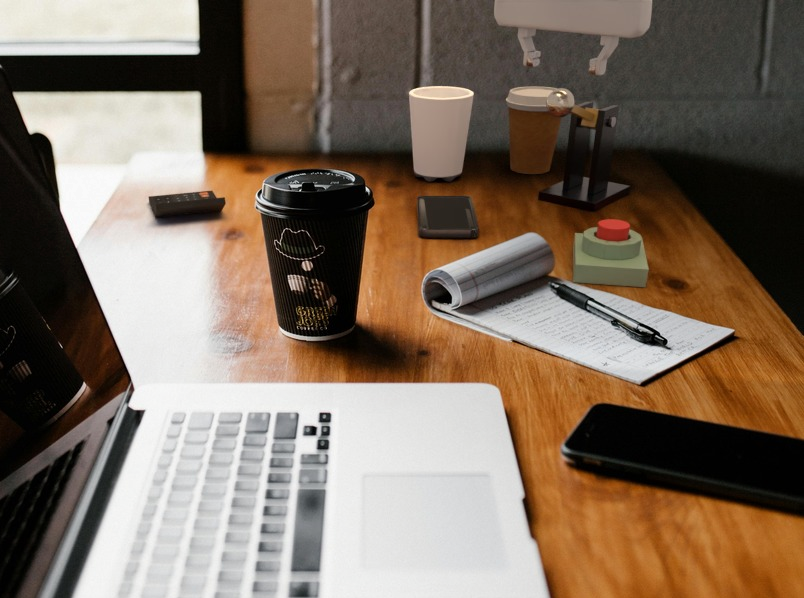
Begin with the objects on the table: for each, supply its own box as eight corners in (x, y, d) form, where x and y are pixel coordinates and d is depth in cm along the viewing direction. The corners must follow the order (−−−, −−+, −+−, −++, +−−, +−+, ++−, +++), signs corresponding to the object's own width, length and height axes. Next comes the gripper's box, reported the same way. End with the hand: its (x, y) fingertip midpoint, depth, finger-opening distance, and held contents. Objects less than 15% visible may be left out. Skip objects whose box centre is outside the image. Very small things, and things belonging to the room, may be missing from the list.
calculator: (212, 196, 129) (210, 176, 127) (227, 219, 119) (225, 198, 117) (149, 202, 126) (146, 181, 125) (158, 226, 117) (155, 204, 115)
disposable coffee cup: (547, 180, 134) (556, 99, 128) (490, 172, 139) (496, 93, 132) (568, 166, 141) (577, 89, 135) (514, 158, 146) (520, 83, 139)
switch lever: (562, 116, 111) (570, 87, 110) (538, 112, 113) (545, 83, 112) (605, 136, 122) (613, 109, 121) (582, 132, 124) (590, 106, 123)
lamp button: (628, 244, 99) (631, 229, 98) (596, 242, 99) (598, 227, 99) (626, 234, 102) (629, 220, 101) (595, 232, 102) (597, 218, 102)
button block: (645, 287, 97) (651, 253, 95) (573, 282, 99) (577, 249, 97) (639, 254, 106) (644, 222, 104) (572, 249, 108) (576, 218, 106)
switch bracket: (593, 211, 121) (606, 117, 114) (537, 199, 126) (547, 108, 119) (629, 193, 128) (643, 103, 121) (574, 183, 133) (585, 96, 126)
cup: (444, 165, 142) (448, 83, 136) (481, 179, 135) (487, 93, 129) (394, 173, 138) (396, 90, 131) (430, 188, 131) (433, 101, 124)
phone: (418, 229, 111) (417, 195, 124) (418, 238, 112) (416, 202, 124) (480, 230, 111) (472, 195, 123) (479, 238, 111) (471, 203, 124)
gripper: (671, -52, 99) (650, 76, 107) (519, -57, 111) (509, 58, 118) (647, -49, 95) (627, 83, 103) (492, -55, 107) (483, 64, 114)
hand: (563, 70), depth 110 cm, fingers open, 8 cm apart
